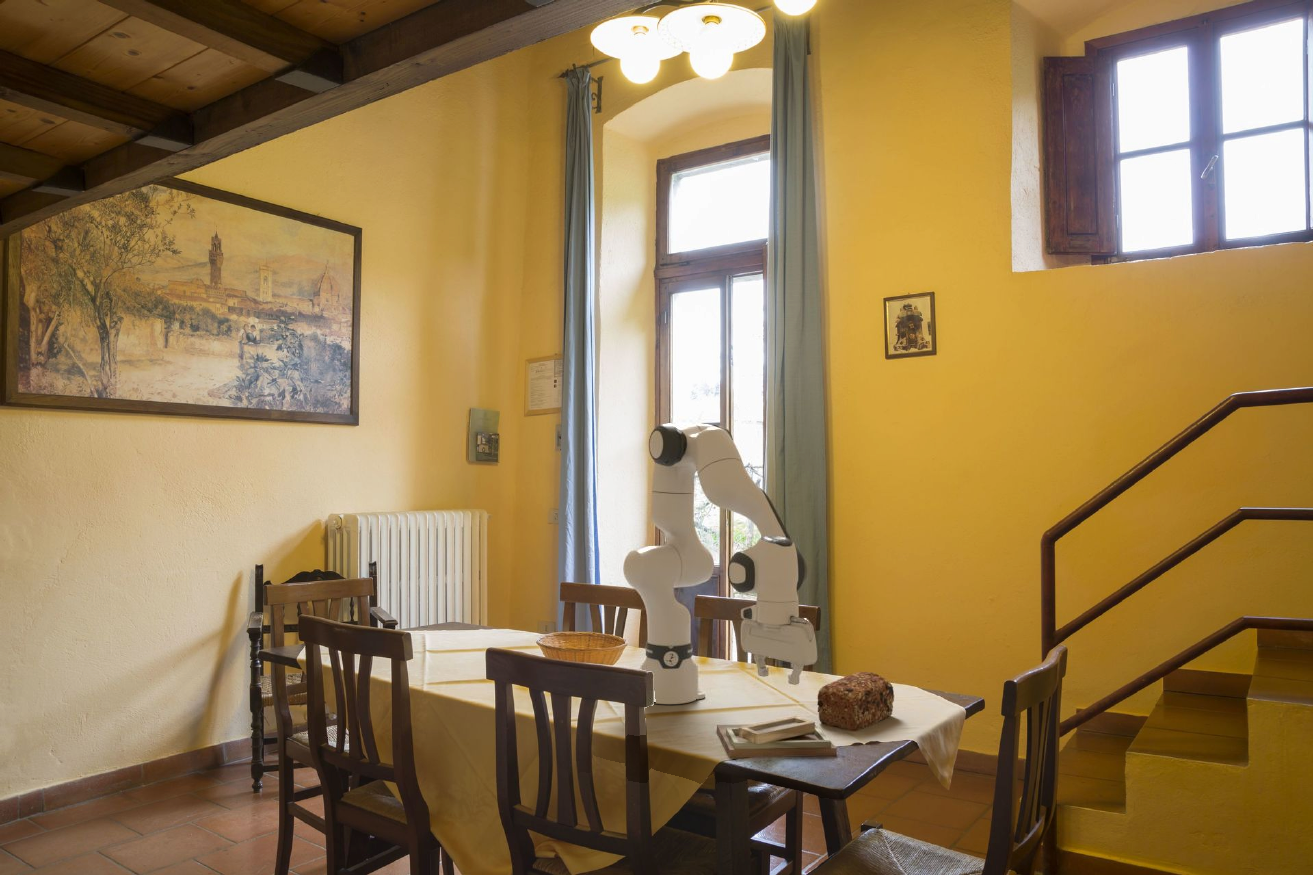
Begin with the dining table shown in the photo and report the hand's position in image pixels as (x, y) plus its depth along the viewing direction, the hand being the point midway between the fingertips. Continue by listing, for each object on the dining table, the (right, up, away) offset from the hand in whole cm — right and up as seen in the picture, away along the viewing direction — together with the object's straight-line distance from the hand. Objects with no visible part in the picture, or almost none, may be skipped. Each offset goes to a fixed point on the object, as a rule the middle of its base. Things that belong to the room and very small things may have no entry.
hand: (778, 680), depth 184 cm
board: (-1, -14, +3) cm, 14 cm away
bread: (+21, -16, +21) cm, 34 cm away
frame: (0, -11, 0) cm, 11 cm away
